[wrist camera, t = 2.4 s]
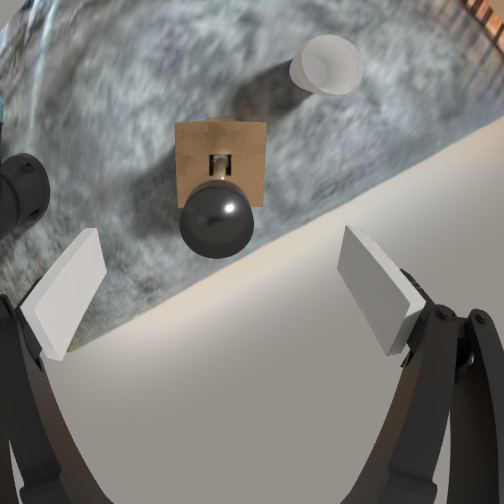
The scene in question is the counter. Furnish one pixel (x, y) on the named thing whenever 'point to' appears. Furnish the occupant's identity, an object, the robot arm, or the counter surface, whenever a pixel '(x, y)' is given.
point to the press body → (221, 142)
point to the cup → (327, 66)
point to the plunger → (217, 214)
